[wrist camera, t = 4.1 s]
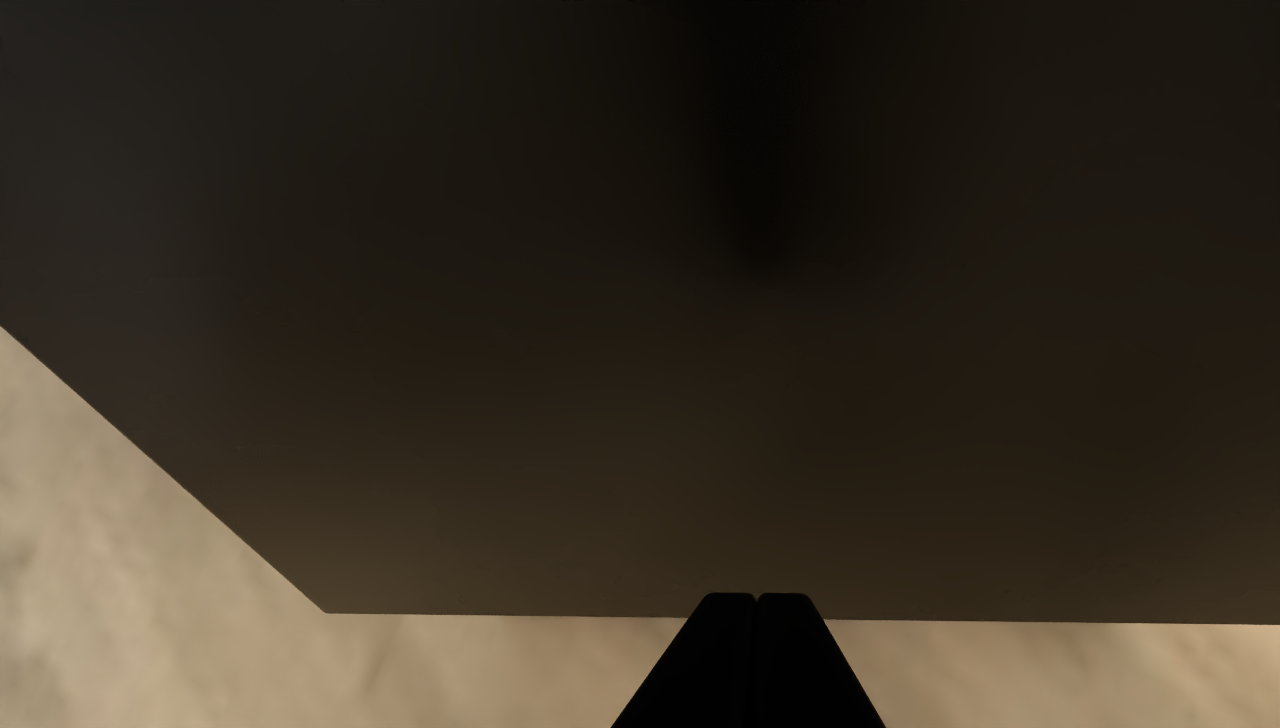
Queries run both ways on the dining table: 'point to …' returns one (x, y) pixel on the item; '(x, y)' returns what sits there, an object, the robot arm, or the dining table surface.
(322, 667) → the dining table surface
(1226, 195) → the black square box lid
